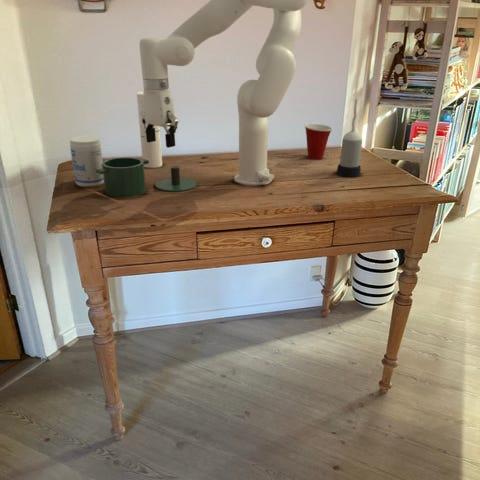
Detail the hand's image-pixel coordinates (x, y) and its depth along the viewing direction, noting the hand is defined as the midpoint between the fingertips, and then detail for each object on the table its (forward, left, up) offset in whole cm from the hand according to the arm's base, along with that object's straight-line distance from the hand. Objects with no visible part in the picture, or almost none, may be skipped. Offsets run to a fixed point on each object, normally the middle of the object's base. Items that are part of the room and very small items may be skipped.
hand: (160, 144), depth 164 cm
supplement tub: (+21, +14, -14) cm, 29 cm away
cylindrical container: (+25, -15, -14) cm, 33 cm away
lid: (-2, -4, -14) cm, 14 cm away
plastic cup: (-11, -68, -14) cm, 70 cm away
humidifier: (-33, -58, -14) cm, 68 cm away
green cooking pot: (+5, +11, -14) cm, 19 cm away
